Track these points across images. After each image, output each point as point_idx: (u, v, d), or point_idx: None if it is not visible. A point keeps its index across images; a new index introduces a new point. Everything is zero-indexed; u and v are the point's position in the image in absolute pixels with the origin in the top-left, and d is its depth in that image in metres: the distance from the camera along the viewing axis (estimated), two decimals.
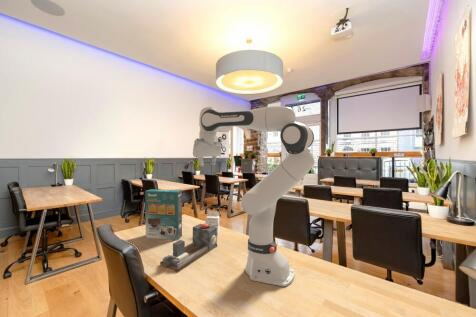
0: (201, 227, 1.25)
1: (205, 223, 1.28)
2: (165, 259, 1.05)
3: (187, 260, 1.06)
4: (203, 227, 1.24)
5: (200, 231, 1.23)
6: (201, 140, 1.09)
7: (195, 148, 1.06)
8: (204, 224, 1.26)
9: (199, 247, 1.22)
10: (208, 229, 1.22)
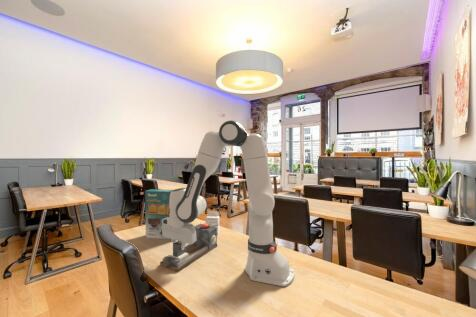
0: (201, 227, 1.25)
1: (205, 223, 1.28)
2: (165, 259, 1.05)
3: (187, 260, 1.06)
4: (203, 227, 1.24)
5: (200, 231, 1.23)
6: None
7: (193, 234, 1.03)
8: (204, 224, 1.26)
9: (199, 247, 1.22)
10: (208, 229, 1.22)
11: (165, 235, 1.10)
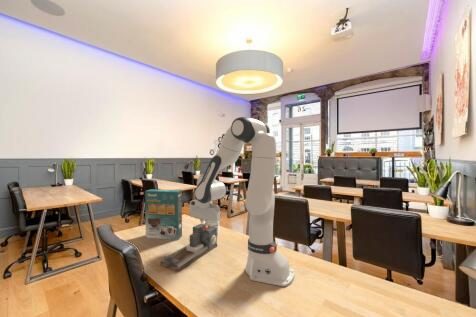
0: None
1: None
2: (165, 259, 1.05)
3: (187, 260, 1.06)
4: None
5: (200, 231, 1.23)
6: None
7: (218, 213, 1.21)
8: None
9: None
10: (208, 229, 1.22)
11: (192, 215, 1.28)
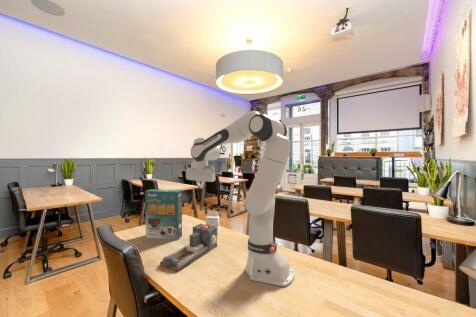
0: None
1: None
2: (165, 259, 1.05)
3: (187, 260, 1.06)
4: None
5: (200, 231, 1.23)
6: None
7: (213, 174, 1.26)
8: (204, 226, 1.26)
9: None
10: (208, 229, 1.22)
11: (189, 178, 1.33)
